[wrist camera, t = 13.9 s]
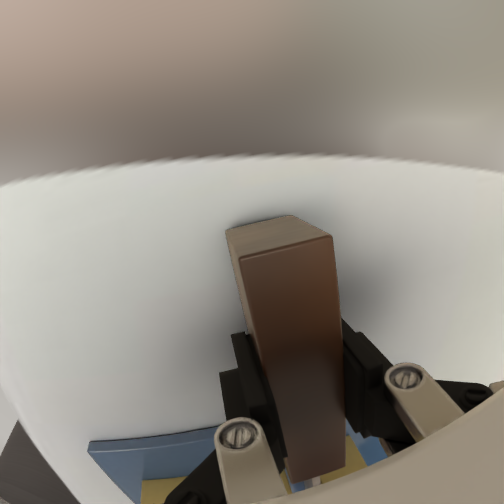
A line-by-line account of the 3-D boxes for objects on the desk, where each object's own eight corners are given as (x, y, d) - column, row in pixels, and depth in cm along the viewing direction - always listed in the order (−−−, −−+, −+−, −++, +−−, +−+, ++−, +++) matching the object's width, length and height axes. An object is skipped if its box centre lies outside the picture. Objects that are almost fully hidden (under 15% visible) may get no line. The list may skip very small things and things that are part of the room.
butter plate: (157, 517, 16) (158, 525, 15) (88, 441, 13) (86, 451, 12) (391, 458, 18) (396, 465, 17) (408, 363, 15) (415, 371, 14)
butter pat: (311, 480, 16) (325, 516, 13) (307, 449, 14) (324, 490, 12) (348, 468, 16) (365, 501, 13) (349, 434, 15) (371, 471, 12)
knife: (292, 214, 11) (333, 234, 8) (326, 493, 16) (343, 530, 13) (224, 229, 11) (237, 257, 7) (293, 503, 16) (306, 542, 13)
